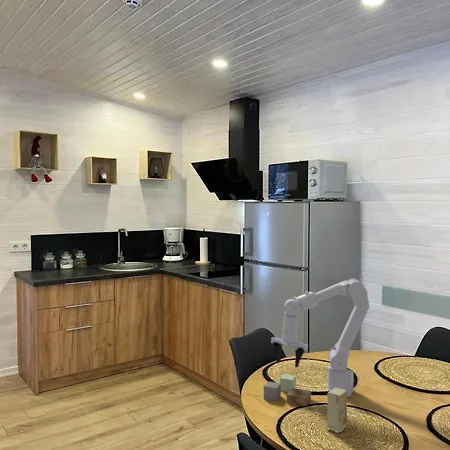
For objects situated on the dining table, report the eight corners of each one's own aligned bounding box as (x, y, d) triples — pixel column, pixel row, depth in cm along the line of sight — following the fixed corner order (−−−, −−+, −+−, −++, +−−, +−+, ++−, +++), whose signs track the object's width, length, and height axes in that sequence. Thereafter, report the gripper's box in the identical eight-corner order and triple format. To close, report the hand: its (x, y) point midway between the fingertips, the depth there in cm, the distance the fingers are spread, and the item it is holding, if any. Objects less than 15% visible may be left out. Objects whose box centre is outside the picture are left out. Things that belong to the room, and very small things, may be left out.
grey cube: (280, 396, 173) (280, 383, 173) (276, 401, 168) (276, 388, 168) (268, 394, 175) (268, 381, 175) (263, 399, 170) (263, 386, 170)
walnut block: (310, 400, 170) (310, 391, 170) (305, 407, 163) (305, 398, 163) (292, 396, 173) (292, 387, 173) (286, 404, 167) (286, 394, 166)
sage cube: (296, 388, 180) (296, 375, 180) (292, 393, 176) (292, 380, 176) (283, 386, 183) (283, 373, 182) (279, 390, 178) (279, 378, 178)
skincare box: (339, 434, 143) (339, 396, 143) (326, 430, 146) (326, 392, 146) (347, 426, 149) (347, 389, 148) (334, 422, 151) (335, 386, 151)
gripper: (268, 328, 179) (266, 363, 179) (304, 336, 172) (301, 371, 172) (275, 325, 185) (273, 358, 185) (310, 332, 178) (307, 366, 178)
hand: (287, 364), depth 179 cm, fingers open, 7 cm apart
